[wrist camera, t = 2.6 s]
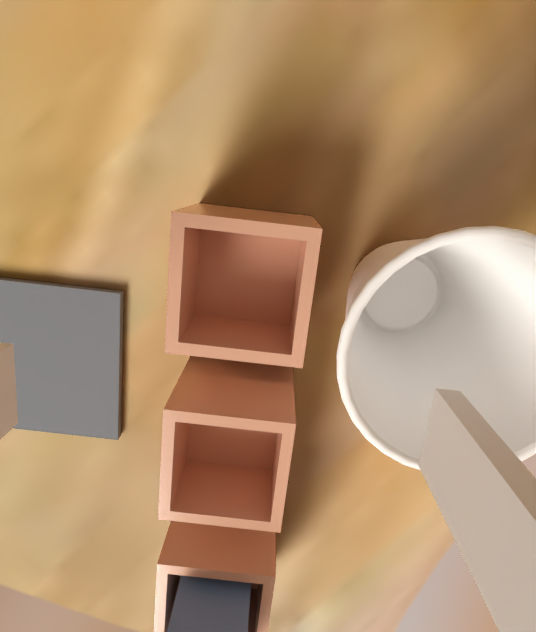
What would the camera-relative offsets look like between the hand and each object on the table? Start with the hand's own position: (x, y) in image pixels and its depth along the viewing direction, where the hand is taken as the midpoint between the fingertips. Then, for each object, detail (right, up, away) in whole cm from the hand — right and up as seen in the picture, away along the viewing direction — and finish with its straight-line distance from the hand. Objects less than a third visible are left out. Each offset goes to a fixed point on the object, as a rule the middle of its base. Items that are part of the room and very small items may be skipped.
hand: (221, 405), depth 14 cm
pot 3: (-2, -12, +18) cm, 22 cm away
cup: (+9, +4, +13) cm, 17 cm away
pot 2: (-1, -3, +16) cm, 16 cm away
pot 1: (0, +6, +13) cm, 14 cm away
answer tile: (-13, 0, +15) cm, 20 cm away
